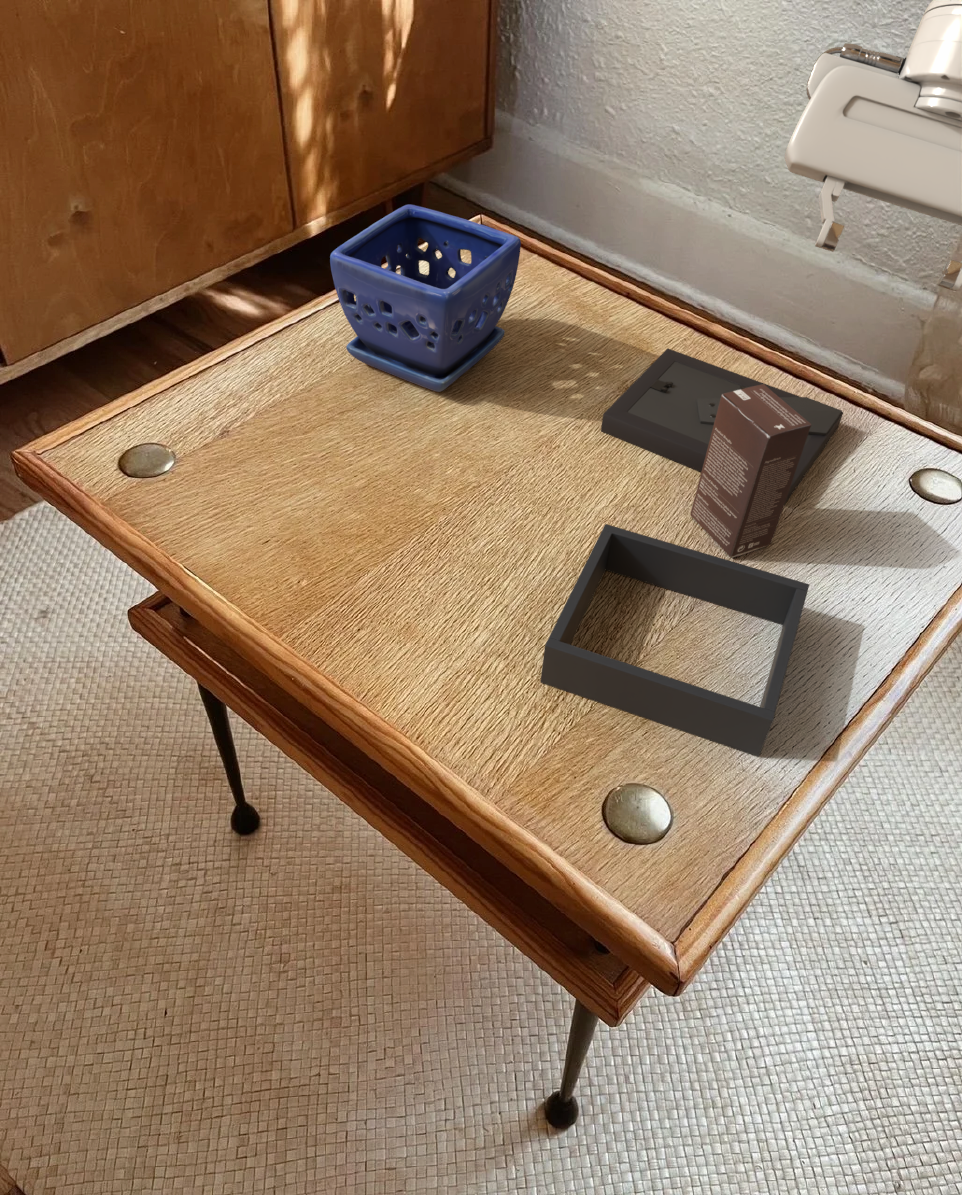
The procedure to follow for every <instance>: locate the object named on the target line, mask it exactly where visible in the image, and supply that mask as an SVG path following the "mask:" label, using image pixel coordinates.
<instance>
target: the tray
mask: <svg viewBox="0 0 962 1195" xmlns="http://www.w3.org/2000/svg"><path fill="white" fill-rule="evenodd" d="M606 571H608V572H610V573H613V574H617V575H620V576H623V577H627V578H630V579H633V580H637V581H639V582H643V583H646V584H650V585H652V586H656V587H659V588H662V589H665V590H669V591H672V592H675V593H679V594H682V595H685V596H688V597H691V598H694V599H695V598H696V599H698V600H702V601H705V602H708V603H711V604H715V605H717V606H720V607H724V608H727V609H731V610H733V611H736V612H741V613H743V614H747V615H750V616H754V617H756V618H759V619H763V620H767V621H770V622H773V623H776V624H779V625H782V627H781V630H780V634H779V637H778V641H777V645H776V648H775V652H774V655H773V659H772V663H771V666H770V670H769V673H768V677H767V681H766V684H765V687H764V691H763V694H762V698H761V701H760V706H758V705H755V704H752V703H749V702H746V701H743V700H739V699H736V698H734V697H731V696H727V695H725V694H722V693H719V692H716V691H713V690H709V689H706V688H703V687H700V686H697V685H695V684H691V683H688V682H685V681H681V680H679V679H676V678H674V677H670V676H667V675H664V674H661V673H657V672H655V671H651V670H650V669H646V668H643V667H640V666H636V665H633V664H631V663H627V662H624V661H621V660H618V659H615V658H612V657H610V656H606V655H604V654H600V653H597V652H595V651H594V652H593V651H591V650H588V649H585V648H582V647H578V646H575V645H572V642H573V641H574V638H575V636H576V634H577V632H578V629H579V627H580V625H581V623H582V621H583V619H584V617H585V615H586V612H587V610H588V608H589V606H590V605H591V602H592V601H593V598H594V596H595V594H596V592H597V589H598V588H599V585H600V583H601V581H602V579H603V577H604V575H605V572H606ZM809 588H810V584H809V583H807V582H803V581H800V580H796V579H792V578H789V577H786V576H783V575H779V574H777V573H773V572H769V571H766V570H763V569H759V568H756V567H752V566H749V565H746V564H743V563H739V562H737V561H736V562H735V561H733V560H728V559H725V558H723V557H719V556H715V555H712V554H708V553H705V552H702V551H699V550H695V549H691V548H689V547H684V546H682V545H678V544H674V543H671V542H668V541H665V540H661V539H659V538H655V537H651V536H648V535H644V534H642V533H639V532H635V531H631V530H627V529H624V528H621V527H618V526H614V525H611V524H607V523H605V524H604V526H603V527H602V530H601V532H600V533H599V536H598V538H597V539H596V542H595V544H594V546H593V548H592V550H591V552H590V554H589V556H588V558H587V560H586V563H584V566H583V568H582V570H581V572H580V574H579V576H578V578H577V579H576V582H575V585H574V586H573V588H572V590H571V592H570V594H569V596H568V598H567V599H566V602H565V604H564V606H563V608H562V610H561V611H560V613H559V616H558V618H557V621H556V622H555V625H554V626H553V628H552V631H551V632H550V634H549V637H548V638H547V641H546V642H545V645H544V650H543V651H544V652H543V658H542V665H541V673H540V680H539V681H540V684H543V685H546V686H550V687H553V688H556V689H559V690H562V691H563V692H568V693H570V694H573V695H576V696H579V697H582V698H585V699H588V700H591V701H593V702H595V703H599V704H602V705H604V706H605V705H606V706H607V707H611V708H614V709H617V710H620V711H623V712H626V713H628V714H631V715H634V716H637V717H641V718H644V719H646V720H649V721H652V722H654V723H658V724H661V725H664V726H667V727H670V728H673V729H675V730H678V731H681V732H685V733H687V734H690V735H694V736H696V737H699V738H701V739H704V740H705V739H706V740H708V741H710V742H714V743H717V744H720V745H723V746H725V747H729V748H732V749H735V750H738V751H739V752H742V753H743V752H744V753H746V754H749V755H752V756H755V757H760V754H761V752H762V750H763V747H764V744H765V743H766V740H767V737H768V735H769V732H770V729H771V728H772V725H773V722H774V721H775V720H774V719H775V716H776V712H777V708H778V704H779V701H780V697H781V692H782V689H783V687H784V686H783V685H784V682H785V678H786V674H787V670H788V667H789V664H790V663H789V662H790V660H791V656H792V652H793V647H794V644H795V641H796V637H797V633H798V629H799V625H800V622H801V617H802V614H803V610H804V607H805V603H806V600H807V595H808V592H809Z"/></svg>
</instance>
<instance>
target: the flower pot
mask: <svg viewBox="0 0 962 1195" xmlns="http://www.w3.org/2000/svg"><path fill="white" fill-rule="evenodd" d="M420 240H423V241H424V242H425V243H427V247H426V249H425V250H423V249H421V247H419V245H418V244H419V241H420ZM521 243H522V241H521V239H520V237H519V236H517V235H514V234H511V233H507V232H505V231H502V230H499V229H496V228H493V227H490V226H488V225H484V224H481V223H478V222H475V221H472V220H469V219H465V218H462V217H459V216H455V215H451V214H448V213H445V212H441V211H439V210H435V209H431V208H428V207H427V208H426V207H423V206H420V205H415V204H405V205H403V206H401V207H399V208H397V209H395V210H394V211H392V212H390V213H389V214H387V215H385V216H384V217H383V218H380V219H379V220H377V221H376V222H374V223H372V224H371V225H369V226H368V227H367V228H365V229H363V230H362V231H360V232H359V233H357V234H356V235H354V236H353V237H351V238H350V239H348V240H347V241H345V242H344V243H342V244H340V245H339V246H337V248H335V249H334V250H333V251H332V252H331V253H330V256H329V258H330V259H329V263H330V265H329V266H330V271H331V275H332V280H333V285H334V288H335V292H336V295H337V298H338V301H339V304H340V306H341V309H342V311H343V314H344V316H345V318H346V320H347V322H348V324H349V325H350V326H351V329H352V330H353V331H354V333H355V334H356V337H355V338H353V339H352V340H350V341H349V342H348V343H347V344H346V347H345V349H346V351H347V352H348V354H350V355H351V356H352V357H353V358H354V359H356V360H358V361H359V362H361V363H363V364H364V365H367V366H370V367H372V368H374V369H377V370H379V371H382V372H385V373H387V374H390V375H391V376H394V377H397V378H400V379H402V380H405V381H407V382H409V383H412V384H415V385H418V386H419V387H423V388H424V389H425V388H426V389H428V390H430V391H433V392H437V393H441V392H443V391H445V390H446V389H447V388H448V387H450V386H451V385H452V384H453V383H455V381H457V380H458V379H459V378H460V377H462V376H463V375H464V374H465V373H466V372H468V371H469V370H470V369H471V368H472V367H473V366H475V365H476V364H477V363H479V361H480V360H482V359H483V358H484V357H485V356H486V355H488V354H489V353H490V352H492V351H493V349H495V347H496V346H497V345H498V344H499V343H500V342H501V341H502V340H503V338H504V336H505V333H506V331H505V329H503V328H502V327H499V326H497V325H498V323H499V321H500V320H501V319H502V316H503V314H504V312H505V310H506V308H507V305H508V302H509V300H510V298H511V295H512V292H513V289H514V285H515V282H516V277H517V273H518V268H519V262H520V257H521V256H520V254H521V247H522V244H521ZM436 251H438V252H439V253H440V254H441V257H438V256H437V252H436ZM462 251H469V253H470V263H469V262H464V261H463V260H462V256H461V255H462V253H461V252H462ZM384 257H385V259H386V262H387V266H386V267H385V268H384V267H382V260H383V258H384ZM422 261H423V262H426V263H427V264H428V274H424V273H421V271H420V262H422ZM398 266H399V269H400V273H397V268H398ZM451 269H452V270H453V271H454V276H451V274H450V273H449V272H450V270H451Z"/></svg>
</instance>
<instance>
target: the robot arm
mask: <svg viewBox="0 0 962 1195" xmlns="http://www.w3.org/2000/svg"><path fill="white" fill-rule="evenodd" d="M835 54H840V55H839V56H838V55H835ZM806 95H807V99H808V102H807V104H806V106H805V108H804V109H803V112H802V114H801V115H800V117H799V120H798V122H797V123H796V126H795V127H794V130H793V133H792V135H791V137H790V139H789V141H788V144H787V146H786V149H785V152H784V161H785V164H786V167H787V170H788V171H789V172H790V173H792V174H795V175H798V176H801V177H804V178H806V179H807V178H808V179H810V180H814V181H817V182H820V183H823V185H822V187H821V189H820V193H819V195H818V198H817V199H818V205H819V211H820V218H821V224H822V226H821V229H820V231H819V234H818V236H817V240H815V241H816V242H815V244H814V247H816V248H819V249H821V250H822V249H823V250H826V251H828V252H832V253H834V251H835V250H836V248H837V247H838V244H839V238H840V237H841V235H842V233H843V232H844V229H845V225H843V224H841V223H838V222H835V221H836V220H835V214H834V206H833V203H835V202H838V200H839V198H840V196H841V193H842V191H843V190H846V191H848V192H849V191H850V192H853V193H855V194H859V195H862V196H865V197H869V198H872V199H875V200H877V201H881V202H884V203H887V204H891V205H895V206H897V207H901V208H905V209H907V210H909V211H914V212H917V213H919V214H922V215H927V216H929V217H933V218H936V219H939V220H942V221H946V222H948V223H952V224H955V225H957V226H958V225H959V226H961V227H962V0H931V1H930V3H929V4H928V5H927V7H926V9H925V11H924V13H923V14H922V17H921V20H920V22H919V25H918V27H917V29H916V32H915V34H914V36H913V39H912V41H911V45H910V47H909V49H908V52H907V53H906V56H905V57H901V56H897V55H893V54H889V53H886V52H883V51H875V50H871V49H867V48H863V46H861V45H859V44H855V43H848V42H847V43H844V44H843V46H835V47H831V48H829V49H827V50H824V52H821V54H820V55H819V56H818V57H817V58H816V60H815V62H814V64H813V66H812V69H811V72H810V75H809V77H808V80H807V82H806ZM941 273H942V275H941V276H939V277H938V279H937V282H936V286H938V287H941V288H944V289H946V290H949V291H953V292H958V291H959V290H960V289H961V287H962V260H961V261H957V260H954V259H948V261H946V262H945V263H944V266H943V268H942V270H941Z"/></svg>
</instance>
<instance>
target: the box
mask: <svg viewBox="0 0 962 1195" xmlns="http://www.w3.org/2000/svg"><path fill="white" fill-rule="evenodd" d="M764 384H765V383H764ZM764 384H762V385H757V386H752V387H748V388H745V389H741V390H736V391H732V392H728V393H724V394H722V395H721V399H720V403H719V407H718V411H717V414H716V418H715V422H714V426H713V430H712V433H711V437H710V441H709V445H708V449H707V453H706V457H705V460H704V464H703V468H702V472H700V475H699V480H698V483H697V487H696V491H695V495H694V499H693V502H692V507H691V509H690V517H691V518H692V519H694V521H695V522H697V524H698V525H699V526H700V527H701V528H702V529H703V530H704V531H705V532H706V533H707V534H708V535H709V537H711V539H712V540H713V541H714V542H715V543H716V544H717V545H718V547H720V548H721V549H722V550H723V551H724V552H725V553H726V554H727V556H728V557H729V558H738V557H740V556H742V555H747V554H750V553H752V552H755V551H758V550H759V549H763V548H766V547H768V546H770V545H772V542H773V539H774V536H775V534H776V530H777V527H778V526H779V521H780V518H781V516H782V513H783V510H784V507H785V505H786V504H785V501H786V498H787V495H788V492H789V489H790V486H791V484H792V480H793V478H794V475H795V472H796V469H797V466H798V463H799V460H800V457H801V454H802V451H803V448H804V445H805V442H806V439H807V436H808V433H809V430H810V427H811V423H809V422H808V421H807V420H806V419H804V418H803V417H802V416H801V415H800V414H798V413H797V412H796V411H795V410H794V409H792V408H791V407H790V406H789V405H788V404H787V403H785V402H784V401H783V400H782V399H781V398H779V397H778V396H777V395H776V394H775V393H774V392H772V391H771V390H770V389H769V388H768V387H767V386H765V385H764ZM784 504H785V505H784Z"/></svg>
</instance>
